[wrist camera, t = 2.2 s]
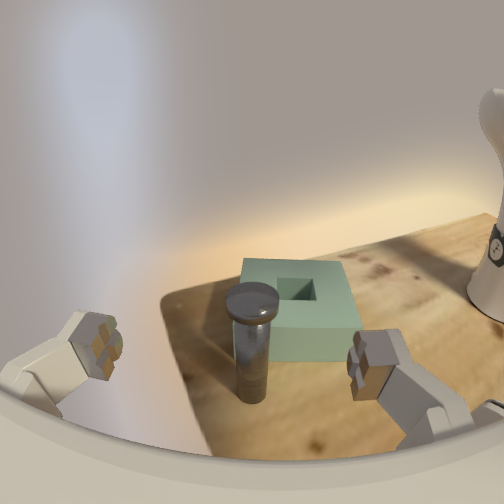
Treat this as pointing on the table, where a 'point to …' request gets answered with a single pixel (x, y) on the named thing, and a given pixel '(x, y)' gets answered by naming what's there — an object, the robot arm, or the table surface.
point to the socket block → (307, 309)
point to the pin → (252, 335)
